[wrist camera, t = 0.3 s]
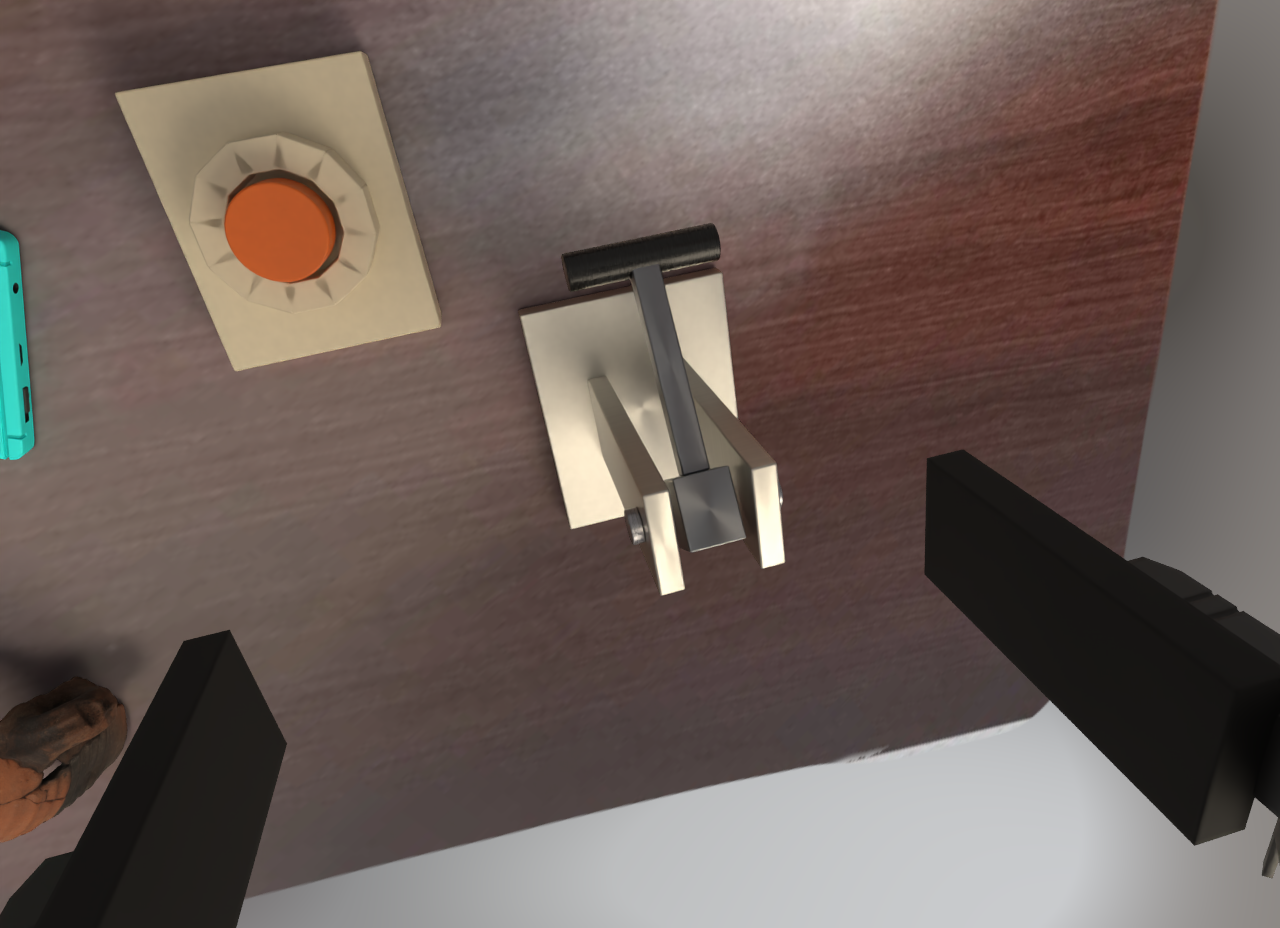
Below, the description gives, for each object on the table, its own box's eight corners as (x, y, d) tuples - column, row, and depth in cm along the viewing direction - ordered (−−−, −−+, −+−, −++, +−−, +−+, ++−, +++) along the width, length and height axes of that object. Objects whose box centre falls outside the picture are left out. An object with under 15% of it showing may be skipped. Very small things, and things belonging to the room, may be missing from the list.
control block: (135, 93, 30) (92, 92, 26) (367, 53, 31) (355, 47, 27) (246, 357, 35) (223, 386, 31) (442, 315, 36) (440, 338, 32)
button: (220, 187, 29) (206, 192, 27) (317, 169, 29) (309, 173, 27) (257, 281, 30) (246, 291, 29) (348, 263, 31) (343, 272, 29)
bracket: (517, 309, 36) (548, 414, 24) (715, 266, 38) (839, 346, 26) (567, 519, 42) (613, 690, 30) (739, 476, 43) (850, 623, 31)
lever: (560, 264, 30) (561, 244, 28) (704, 234, 31) (717, 212, 29) (633, 560, 30) (640, 566, 28) (776, 523, 31) (795, 525, 28)
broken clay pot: (66, 802, 43) (-105, 908, 35) (-18, 658, 43) (-210, 733, 35) (207, 730, 40) (52, 831, 32) (116, 573, 39) (-64, 634, 31)
